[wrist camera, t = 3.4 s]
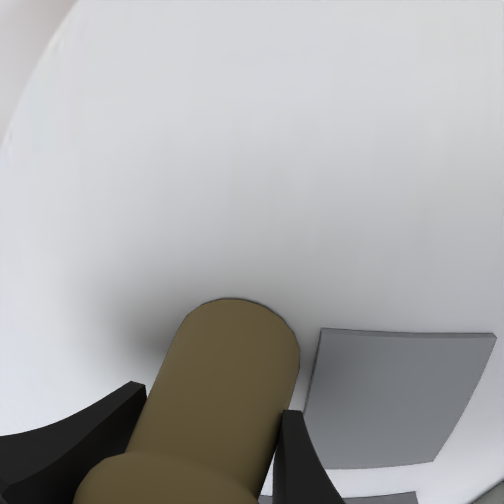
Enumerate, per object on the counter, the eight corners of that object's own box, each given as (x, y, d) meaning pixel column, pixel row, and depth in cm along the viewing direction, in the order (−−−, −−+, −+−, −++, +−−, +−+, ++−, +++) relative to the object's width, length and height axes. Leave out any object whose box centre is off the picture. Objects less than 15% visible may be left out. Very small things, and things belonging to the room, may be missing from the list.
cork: (288, 412, 14) (260, 612, 4) (176, 389, 15) (79, 557, 5) (312, 310, 13) (312, 586, 2) (176, 287, 14) (-5, 470, 3)
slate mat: (492, 333, 12) (497, 337, 12) (431, 456, 15) (432, 461, 14) (321, 327, 13) (322, 333, 13) (290, 462, 16) (290, 467, 15)
